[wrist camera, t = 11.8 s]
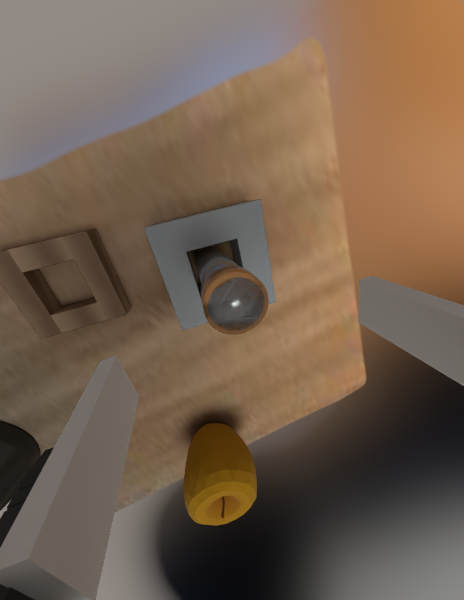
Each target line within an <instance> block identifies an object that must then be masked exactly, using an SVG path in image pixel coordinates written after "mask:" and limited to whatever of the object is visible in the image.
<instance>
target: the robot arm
mask: <svg viewBox="0 0 464 600" xmlns="http://www.w3.org/2000/svg"><path fill="white" fill-rule="evenodd" d="M358 322H359V323H361V324H362V325H364V326H366V327H367V328H369V329H370V330H372V331H374V332H375V333H377V334H379V335H380V336H382V337H384V338H386V339H387V340H389V341H390V342H392V343H394V344H395V345H397V346H399V347H400V348H402V349H404V350H405V351H407V352H409V353H410V354H412V355H413V356H415V357H417V358H418V359H420V360H422V361H424V362H425V363H427V364H428V365H430V366H432V367H433V368H435V369H437V370H438V371H440V372H442V373H443V374H445V375H447V376H448V377H450V378H452V379H453V380H455V381H457V382H458V383H460V384H461V385H463V386H464V306H463V305H461V304H457V303H454V302H451V301H448V300H445V299H442V298H439V297H436V296H433V295H430V294H426V293H423V292H420V291H417V290H414V289H411V288H408V287H405V286H402V285H399V284H395V283H392V282H389V281H386V280H383V279H380V278H377V277H374V276H370V277H367V278H363V279H360V280H359V314H358ZM138 401H139V395H138V393H137V391H136V390H135V388H134V386H133V384H132V382H131V381H130V379H129V377H128V375H127V373H126V372H125V370H124V368H123V366H122V365H121V363H120V361H119V359H118V357H117V356H115V357H111V358H108V359H105V360H102V361H100V362H99V364H98V366H97V368H96V370H95V372H94V373H93V375H92V377H91V379H90V381H89V383H88V385H87V387H86V388H85V390H84V392H83V394H82V396H81V398H80V400H79V402H78V403H77V405H76V407H75V409H74V411H73V413H72V415H71V416H70V418H69V420H68V422H67V424H66V426H65V428H64V430H63V431H62V433H61V435H60V437H59V439H58V441H57V443H56V445H55V446H54V448H51V449H48V450H45V451H44V453H43V454H42V455H41V456H40V451H39V448H38V446H37V444H36V442H35V441H34V440H33V439H32V438H31V437H30V436H29V435H28V434H26V433H25V432H23V431H22V430H20V429H18V428H16V427H13V426H11V425H8V424H5V423H1V422H0V511H1V510H2V509H3V508H4V506H5V505H6V504H7V503H8V502H9V501H10V500H11V499H12V500H11V501H10V503H9V505H8V506H7V511H5V512H4V513H3V515H2V517H1V518H0V600H96V595H97V591H98V586H99V582H100V577H101V572H102V567H103V563H104V558H105V553H106V549H107V545H108V540H109V535H110V531H111V526H112V521H113V516H114V512H115V507H116V503H117V498H118V494H119V489H120V484H121V480H122V475H123V470H124V466H125V461H126V456H127V452H128V447H129V443H130V438H131V433H132V429H133V424H134V419H135V415H136V410H137V405H138Z"/></svg>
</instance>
